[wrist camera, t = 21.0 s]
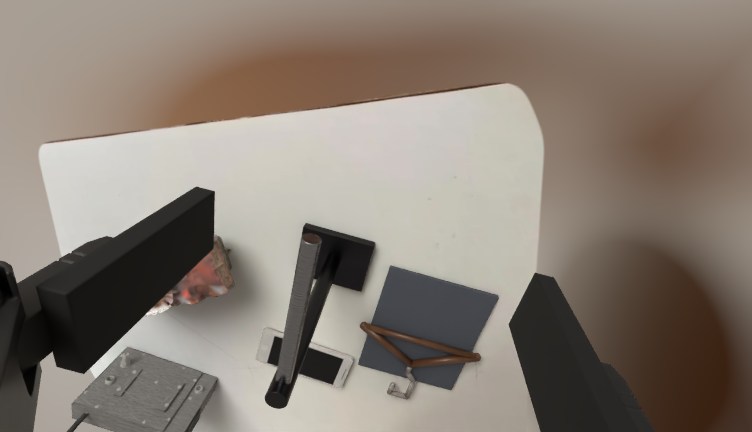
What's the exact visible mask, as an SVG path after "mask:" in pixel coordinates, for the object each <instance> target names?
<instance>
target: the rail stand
mask: <svg viewBox="0 0 752 432" xmlns="http://www.w3.org/2000/svg"><path fill="white" fill-rule="evenodd" d="M374 245H375V242H372V241H368V240H365V239H361V238H358V237H354V236H350V235H347V234H343V233H340V232H336V231H332V230H329V229H325V228H322V227H318V226H315V225H311V224H307V223H306V224H305V225H304V227H303V232H302V238H301V243H300V249H299V254H298V259H297V265H296V270H295V277H294V282H293V288H292V293H291V298H290V304H289V309H288V314H287V320H286V325H285V331H284V336H283V341H282V347H281V352H280V357H279V363H278V368H277V371H276V373H275V375H274V377H273V380H272V382H271V384H270V386H269V389H268V391H267V393H266V395H265V401H266V403H267V404H268V405H269V406H271V407H273V408H278V409H280V408H284V407H286V406H287V404H288V401H289V398H290V396H291V393H292V390H293V388H294V385H295V382H296V380H297V377H298V374H299V372H300V369H301V366H302V363H303V361H304V358H305V355H306V353H307V350H308V347H309V345H310V342H311V339H312V337H313V334H314V331H315V328H316V326H317V323H318V320H319V318H320V315H321V312H322V310H323V307H324V304H325V302H326V299H327V296H328V293H329V291H330V288H331V285H332V284H335V285H338V286H342V287H346V288H349V289H353V290H356V291H360V292H361V290H362V287H363V283H364V280H365V276H366V273H367V270H368V266H369V263H370V259H371V256H372V253H373V249H374ZM313 279H317V281H316V283H315V285H314V287H313V290H312V292H311V288H312V284H313ZM310 293H311V294H310Z"/></svg>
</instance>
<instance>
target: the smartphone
mask: <svg viewBox="0 0 752 432" xmlns="http://www.w3.org/2000/svg"><path fill="white" fill-rule="evenodd" d="M283 336H284V333H281V332H278V331H275V330H272V329H269V328H265V329H264V330H263V333H262V337H261V340H260V344H259V348H258V352H257V355H256V360H257V361H260V362H263V363H266V364H269V365H272V366H275V367H278V363H279V357H280V352H281V347H282V341H283ZM352 363H353V357H351V356H348V355H345V354H342V353H340V352H337V351H334V350H331V349H328V348H325V347H322V346H319V345H316V344H313V343H310V345H309V347H308V350H307V353H306V355H305V358H304V361H303V363H302V366H301V369H300V372H299V375H302V376H305V377H308V378H311V379H314V380H317V381H320V382H323V383H326V384H328V385H331V386H334V387H337V388H342V385H343V383H344V381H345V378H346V376H347V374H348V372H349V369H350V367H351V365H352Z"/></svg>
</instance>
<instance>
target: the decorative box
mask: <svg viewBox="0 0 752 432" xmlns="http://www.w3.org/2000/svg"><path fill="white" fill-rule="evenodd" d="M230 252H231V249H230V248H228V249H225V247H224V245H223V242H222V240H221V238H220V237H219V236H217V235H215V234H214V249H213V250H212V251H211V252H210V253H209V254H208V255H207V256H206V257H204V258H203V259H202V260H201V261H200V262H199V263H198V264H197V265H196V266H195V267H194V268H193V269H192V270H191V271H190V272H189V273H188V274H187V275H186V276H185V277H184V278H183V279H182V280H181V281H180V282H179V283H178V284H177V285H175V286H174V287H173V288H172V289H171V290H170V291H169V292H168V293H167V294H166V295H165V296H164V297H163V298H162V299H161V300H160V301H159V302H158V303H157V304H156V305H155V306H154V307H153V308H152V309H151V310H150V311H149V312H148V313H146V316H145V317H147V316H150V315H156V314H157V312H159V313H160V312H163V310H164V311H166V310H167V309H169V308H172V307H171V306H177V305H179V304H181V303H187V304H197V303H198V302H201V301H202V300H203V299H205V298H206V297H208V296H216V297H218V296H217V295H224V294H226V293H227V292H228V291H229V290H230V289H231V288H232V287H234V281H233V279H232V276H231V273H230V270H231V269H232V265H231V263H230V260H229V257H228V254H229V253H230Z"/></svg>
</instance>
